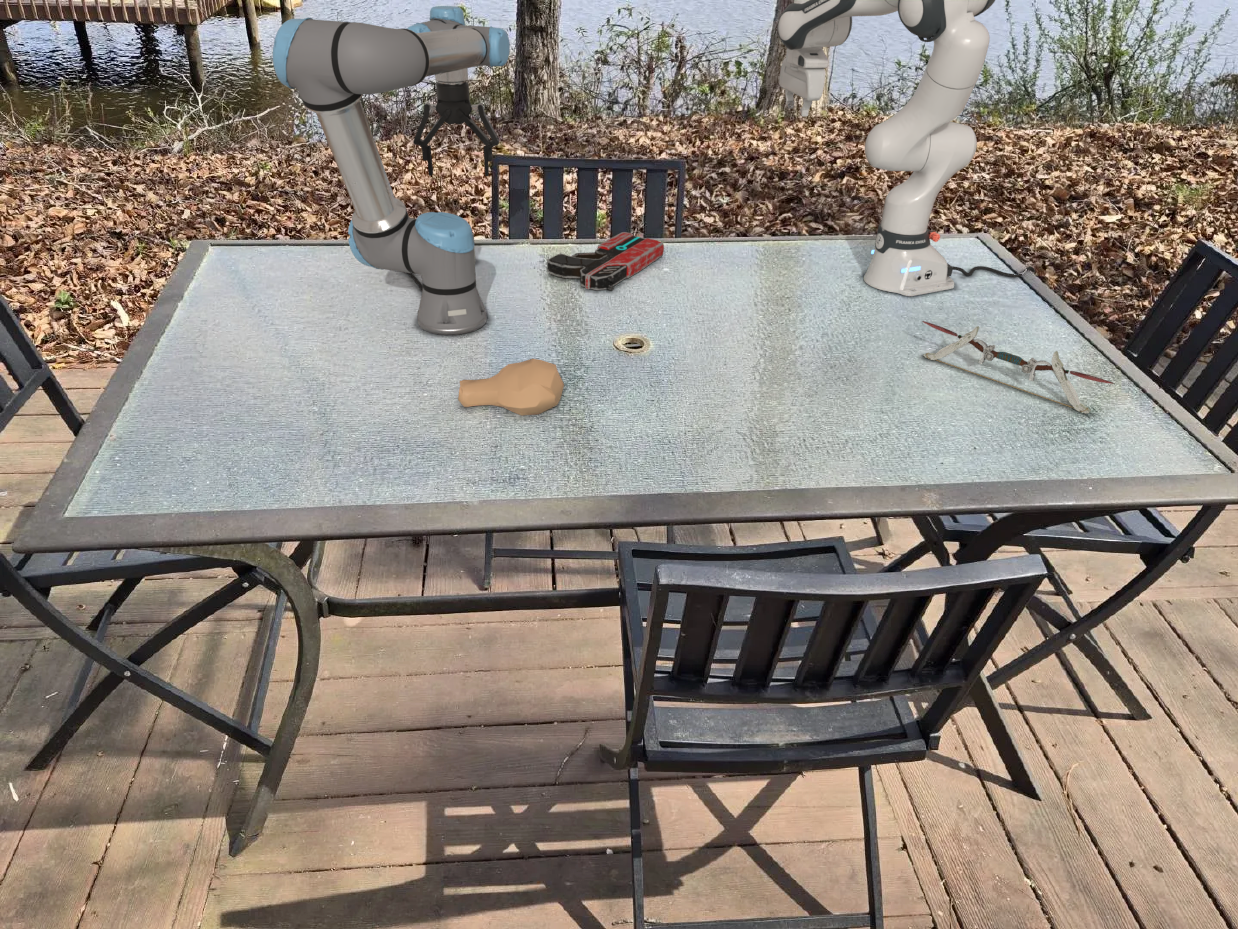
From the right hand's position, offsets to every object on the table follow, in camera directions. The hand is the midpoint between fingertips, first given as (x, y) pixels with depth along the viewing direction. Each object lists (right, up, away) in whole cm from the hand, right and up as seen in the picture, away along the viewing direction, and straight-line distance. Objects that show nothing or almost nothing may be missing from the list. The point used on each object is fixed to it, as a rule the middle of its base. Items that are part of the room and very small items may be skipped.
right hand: (796, 111), depth 233 cm
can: (-87, -42, -6) cm, 97 cm away
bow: (+31, -78, -55) cm, 100 cm away
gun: (-50, -43, -7) cm, 67 cm away
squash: (-68, -83, -67) cm, 127 cm away
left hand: (-87, -23, -19) cm, 91 cm away
